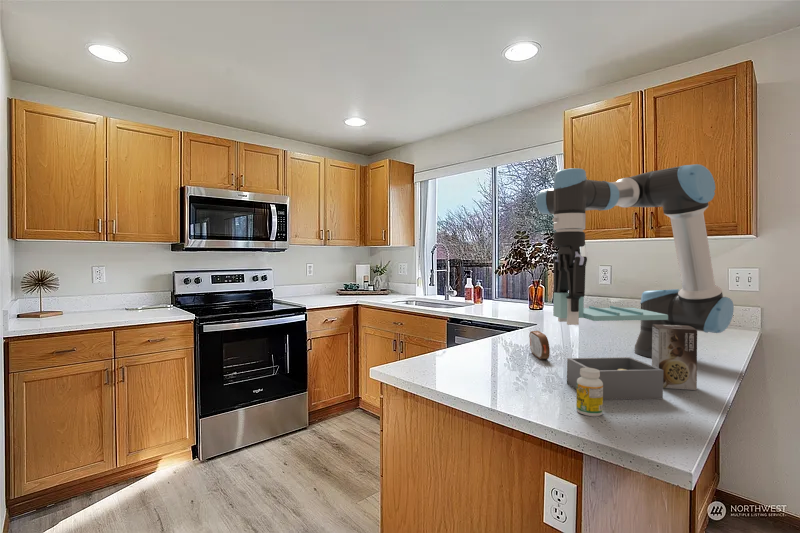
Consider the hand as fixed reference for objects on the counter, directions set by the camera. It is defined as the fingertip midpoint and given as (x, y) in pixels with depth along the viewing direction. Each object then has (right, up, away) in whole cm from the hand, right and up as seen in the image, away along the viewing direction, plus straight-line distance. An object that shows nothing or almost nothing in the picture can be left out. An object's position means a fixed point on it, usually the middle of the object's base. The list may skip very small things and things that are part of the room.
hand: (568, 322), depth 108 cm
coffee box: (+31, -18, +6) cm, 36 cm away
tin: (+5, -17, +38) cm, 42 cm away
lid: (+9, +2, +1) cm, 10 cm away
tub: (+12, -18, +1) cm, 21 cm away
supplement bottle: (-1, -18, -14) cm, 23 cm away
